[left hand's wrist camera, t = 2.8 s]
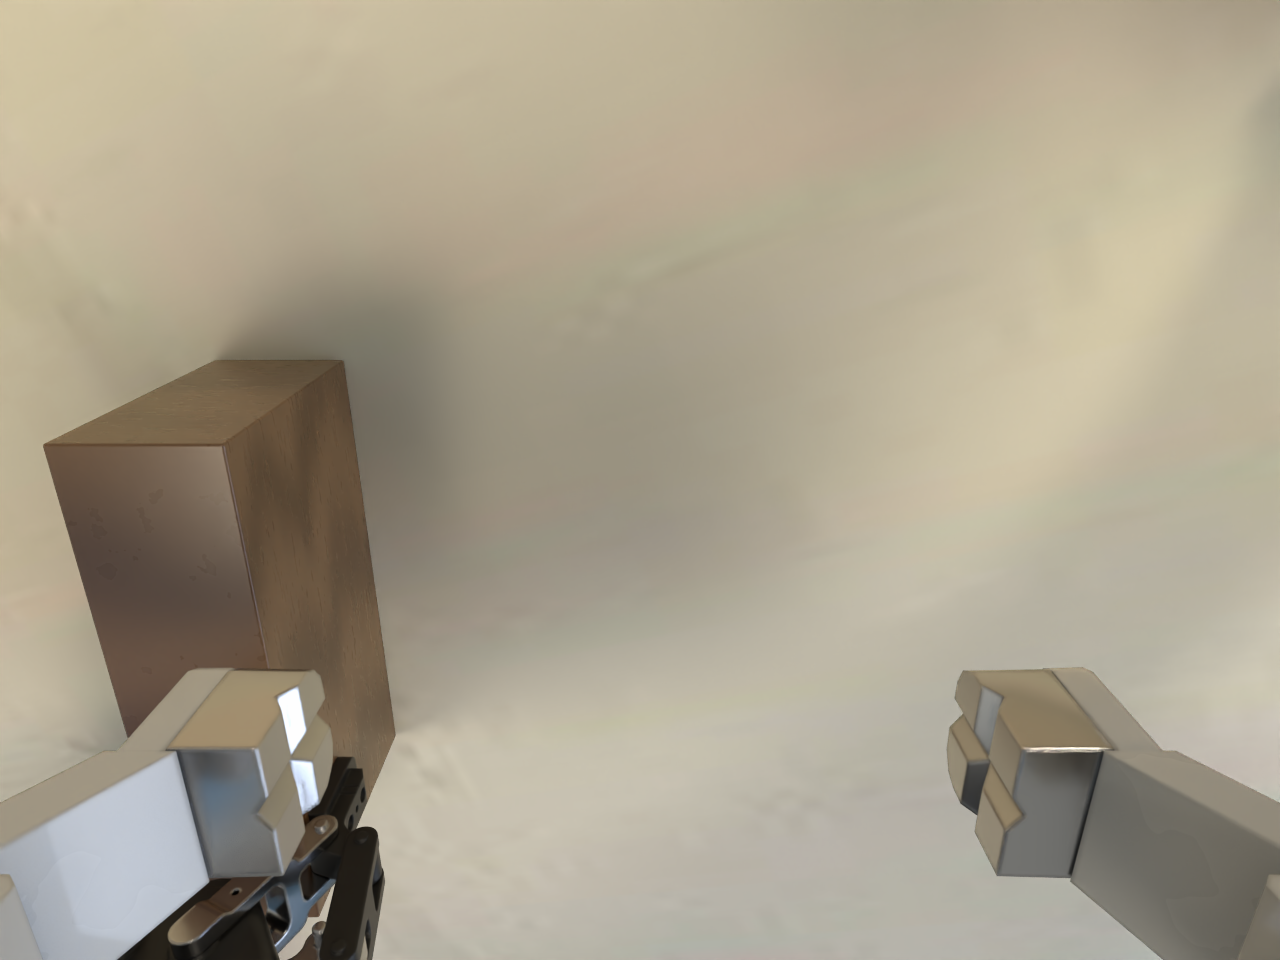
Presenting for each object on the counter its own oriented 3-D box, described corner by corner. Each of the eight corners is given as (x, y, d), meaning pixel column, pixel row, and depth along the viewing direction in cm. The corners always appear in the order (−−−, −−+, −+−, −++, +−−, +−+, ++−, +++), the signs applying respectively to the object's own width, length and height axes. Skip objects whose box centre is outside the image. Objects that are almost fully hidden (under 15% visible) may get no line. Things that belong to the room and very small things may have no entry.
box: (214, 359, 37) (40, 444, 26) (344, 359, 37) (223, 444, 26) (288, 735, 45) (178, 917, 34) (395, 735, 45) (319, 918, 34)
